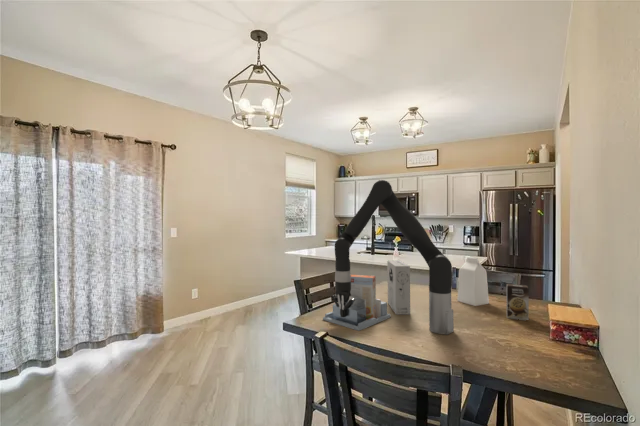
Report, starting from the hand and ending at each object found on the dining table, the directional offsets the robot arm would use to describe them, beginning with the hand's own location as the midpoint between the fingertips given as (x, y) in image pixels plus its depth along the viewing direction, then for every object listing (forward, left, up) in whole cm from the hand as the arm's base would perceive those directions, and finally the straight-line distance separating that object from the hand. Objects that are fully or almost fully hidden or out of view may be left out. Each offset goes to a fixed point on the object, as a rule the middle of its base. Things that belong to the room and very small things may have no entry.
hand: (343, 316), depth 149 cm
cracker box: (0, -13, -4) cm, 14 cm away
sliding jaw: (0, -5, -3) cm, 6 cm away
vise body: (0, -11, -3) cm, 11 cm away
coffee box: (-57, -66, -4) cm, 87 cm away
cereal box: (-6, -40, -4) cm, 40 cm away
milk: (-31, -81, -4) cm, 86 cm away
